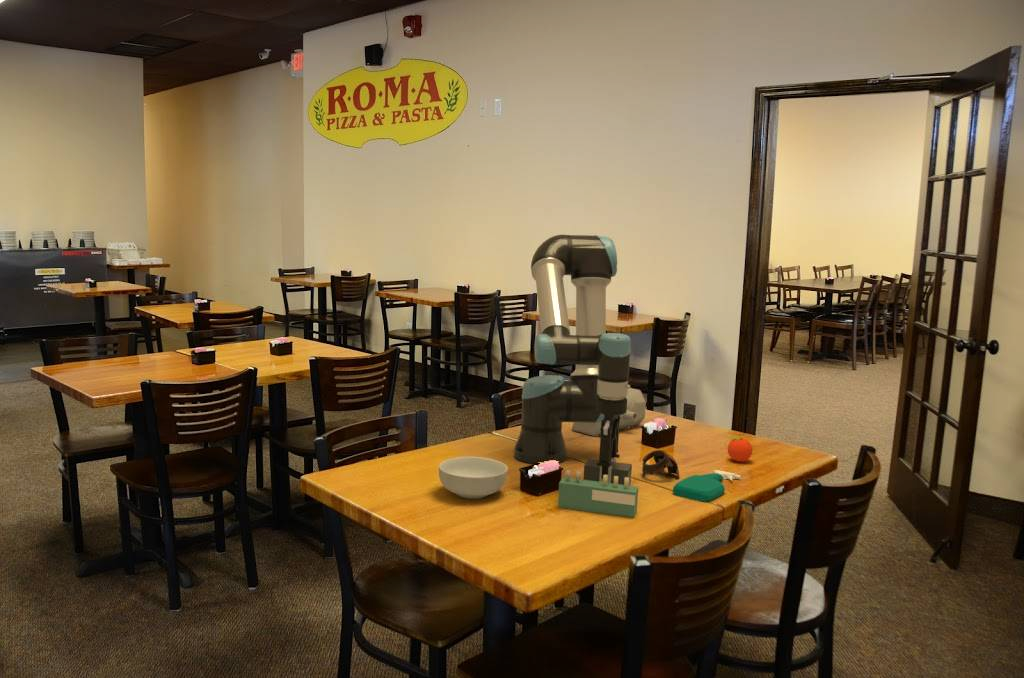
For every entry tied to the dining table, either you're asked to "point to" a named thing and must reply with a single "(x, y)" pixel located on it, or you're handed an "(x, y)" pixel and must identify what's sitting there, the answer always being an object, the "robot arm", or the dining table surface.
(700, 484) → the spray bottle
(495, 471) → the cereal bowl
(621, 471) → the block
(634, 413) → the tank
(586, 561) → the dining table surface
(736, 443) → the tomato
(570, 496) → the board
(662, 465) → the brown arched frame
